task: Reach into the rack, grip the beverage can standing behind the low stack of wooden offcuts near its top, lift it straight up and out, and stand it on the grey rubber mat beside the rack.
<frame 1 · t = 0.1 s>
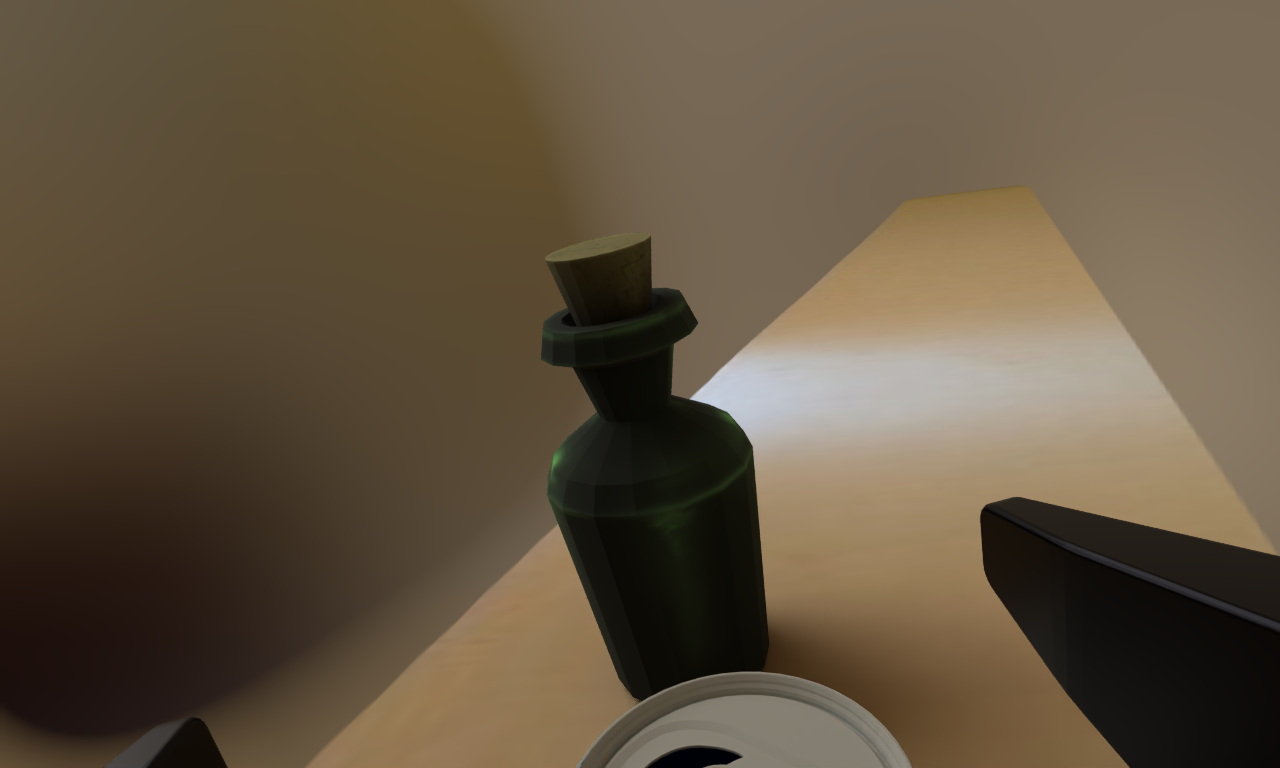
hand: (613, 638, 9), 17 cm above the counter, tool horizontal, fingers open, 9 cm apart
potion bottle: (694, 662, 33), on the counter
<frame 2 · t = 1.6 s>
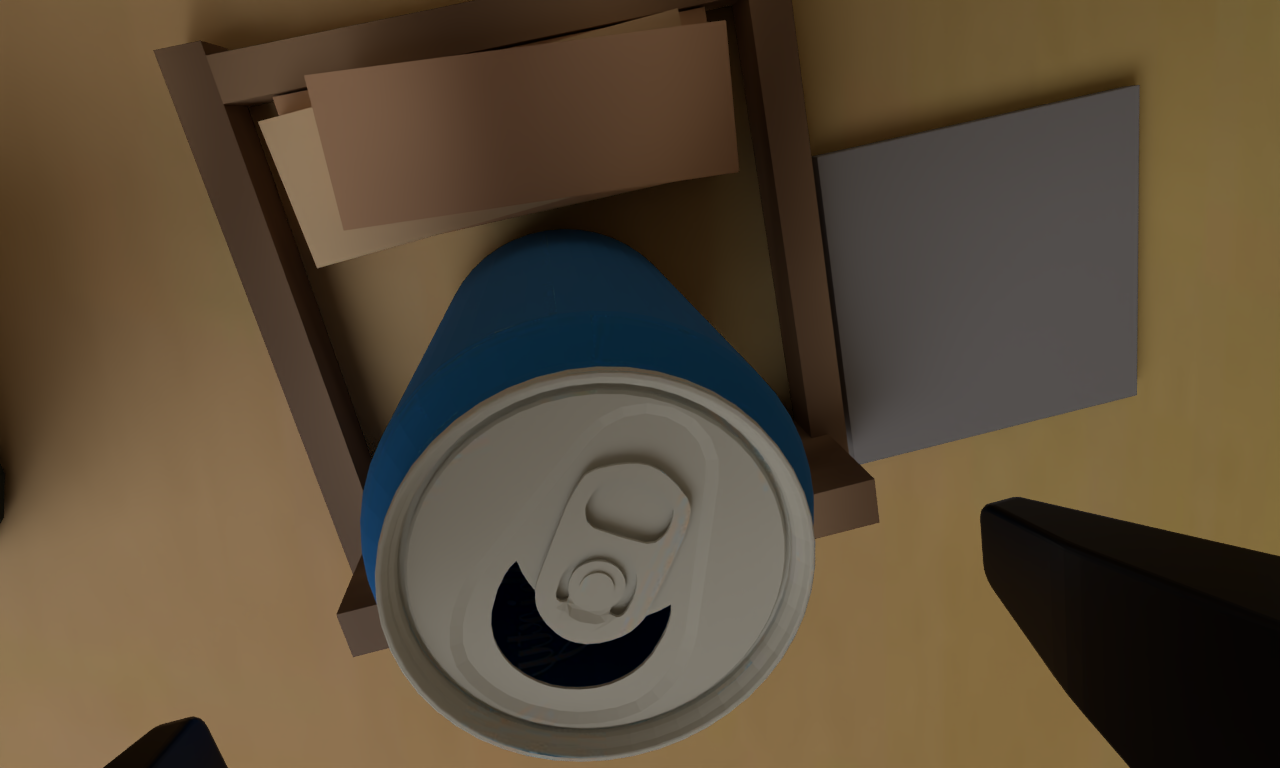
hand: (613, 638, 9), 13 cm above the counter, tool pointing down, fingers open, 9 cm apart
beverage can: (565, 343, 21), resting in rack
rack: (566, 345, 21), on the counter
offcut stack: (514, 135, 19), resting in rack
rubber mat: (980, 282, 22), on the counter
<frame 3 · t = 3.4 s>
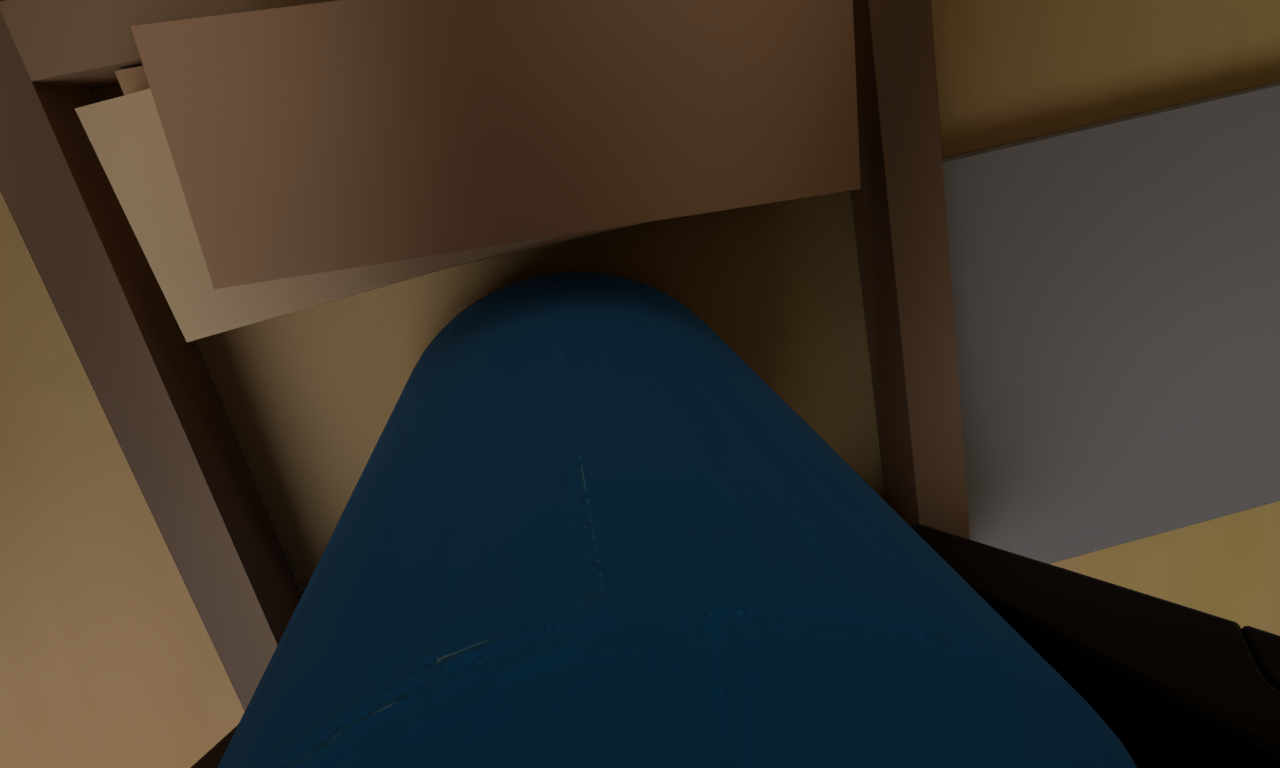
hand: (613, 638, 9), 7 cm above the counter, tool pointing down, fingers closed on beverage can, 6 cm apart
beverage can: (575, 428, 15), resting in rack, touching gripper
rack: (575, 431, 15), on the counter
offcut stack: (499, 132, 13), resting in rack
rubber mat: (1147, 335, 16), on the counter
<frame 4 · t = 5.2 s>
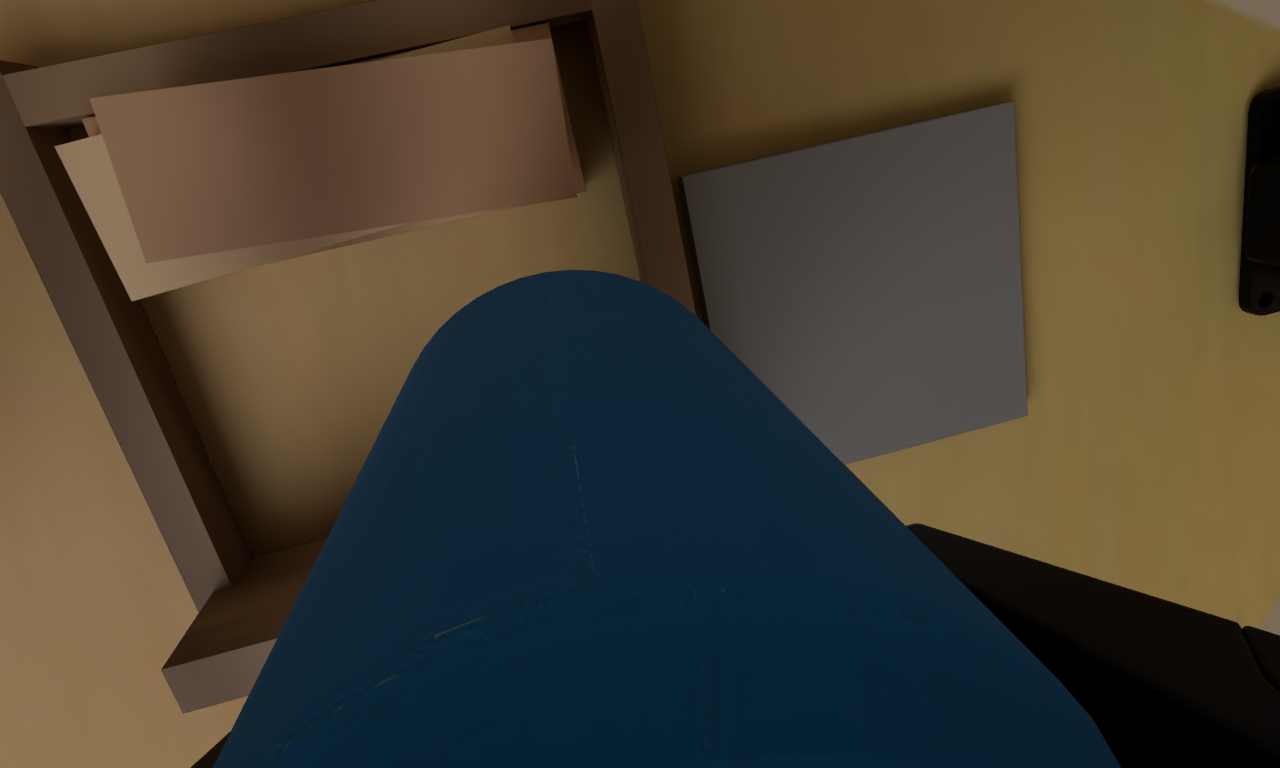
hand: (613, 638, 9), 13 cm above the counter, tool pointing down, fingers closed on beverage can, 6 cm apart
beverage can: (573, 424, 15), point 6 cm above the counter, touching gripper
rack: (428, 374, 20), on the counter
offcut stack: (360, 156, 18), resting in rack
rubber mat: (862, 303, 21), on the counter
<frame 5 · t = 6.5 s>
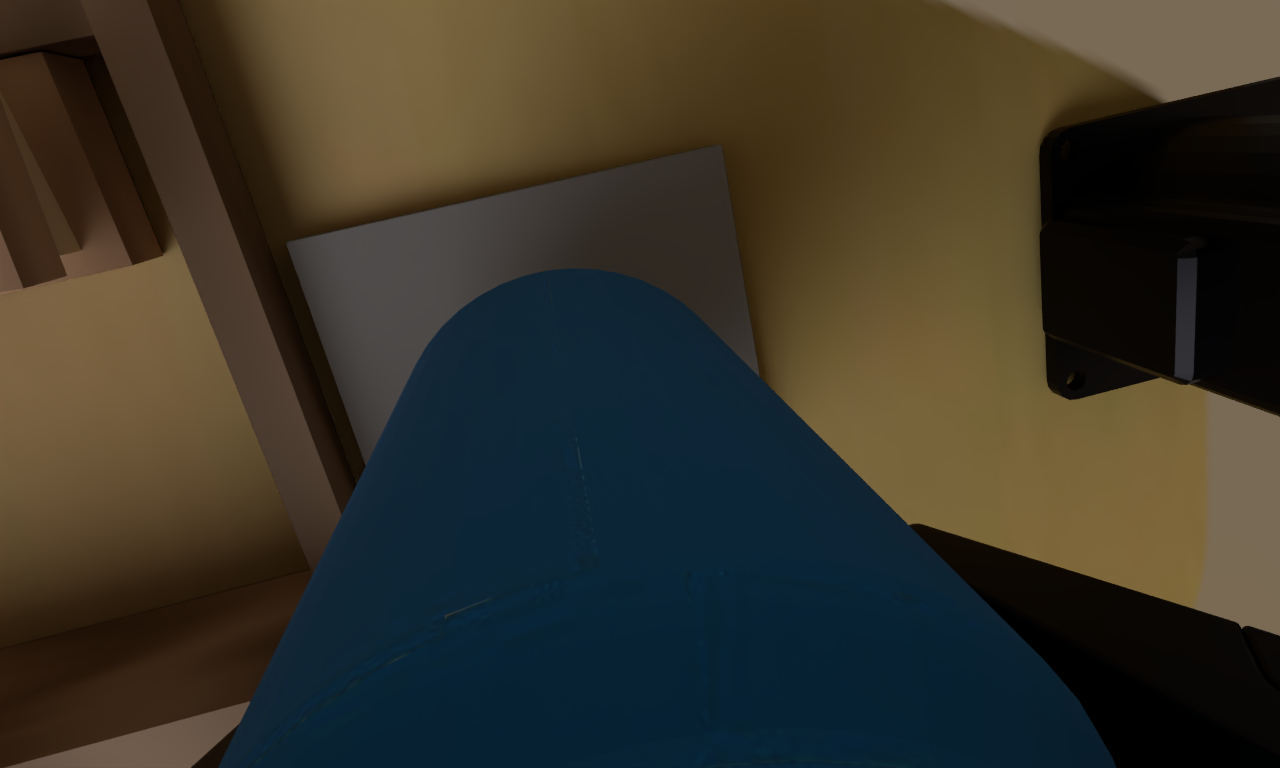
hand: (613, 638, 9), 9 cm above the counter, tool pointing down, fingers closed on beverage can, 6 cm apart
beverage can: (574, 421, 15), point 2 cm above the counter, touching gripper
rubber mat: (560, 389, 17), on the counter
when the fingers open (8 cm above the counter, at t = 7.5 s): beverage can stays where it is, resting on rubber mat.
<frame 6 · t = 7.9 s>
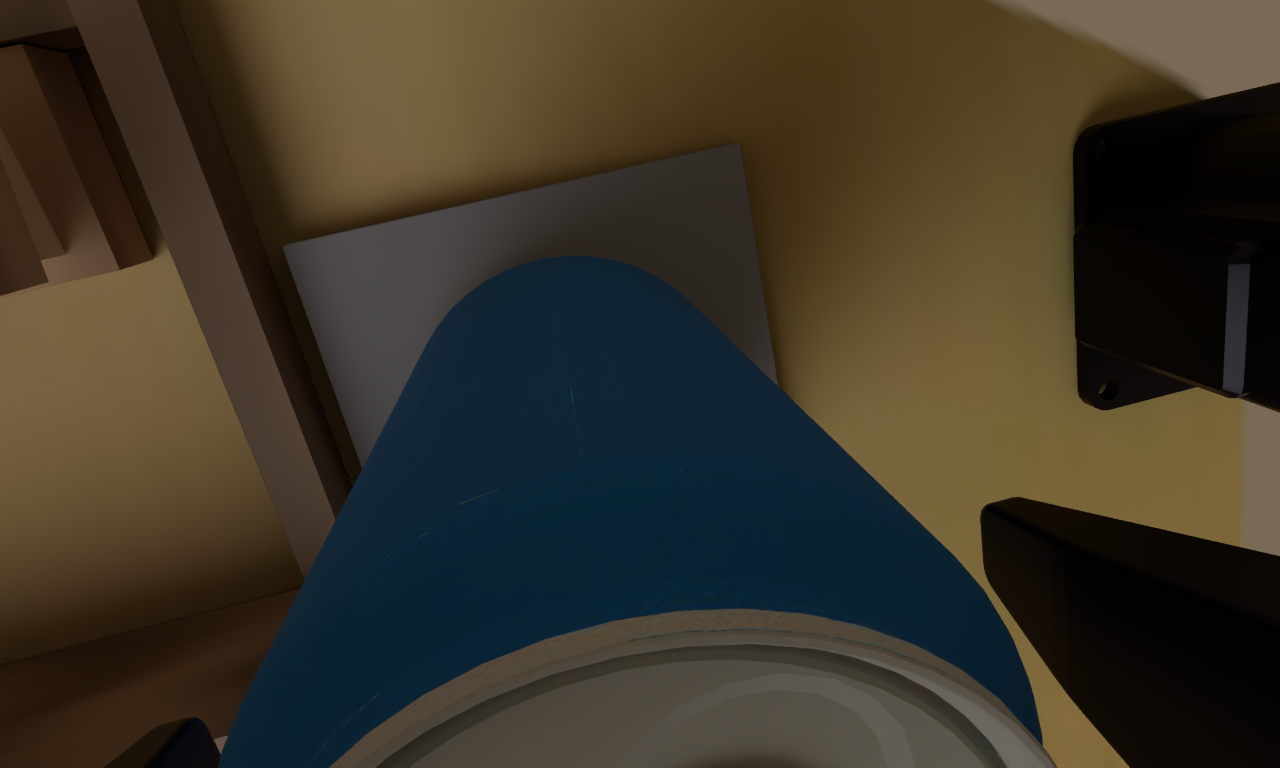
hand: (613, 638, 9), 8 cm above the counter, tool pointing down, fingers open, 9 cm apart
beverage can: (573, 401, 16), resting on rubber mat
rubber mat: (569, 399, 17), on the counter
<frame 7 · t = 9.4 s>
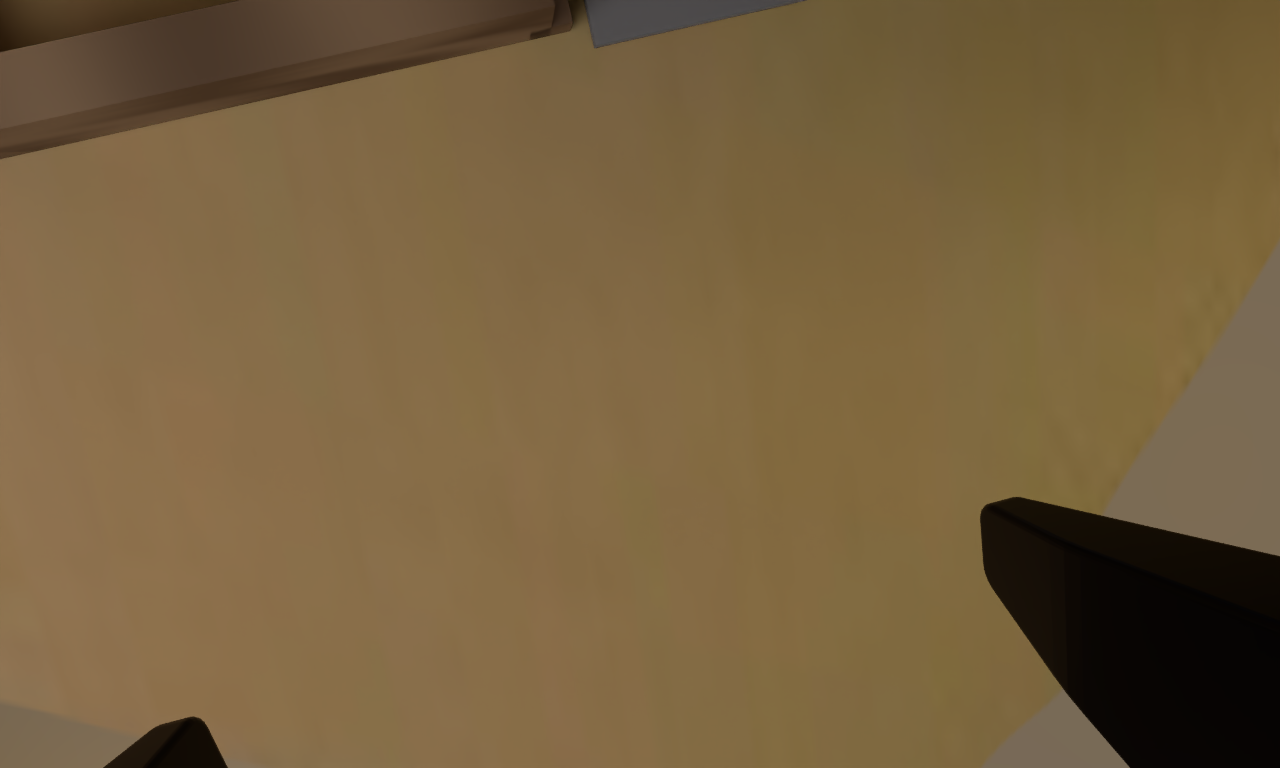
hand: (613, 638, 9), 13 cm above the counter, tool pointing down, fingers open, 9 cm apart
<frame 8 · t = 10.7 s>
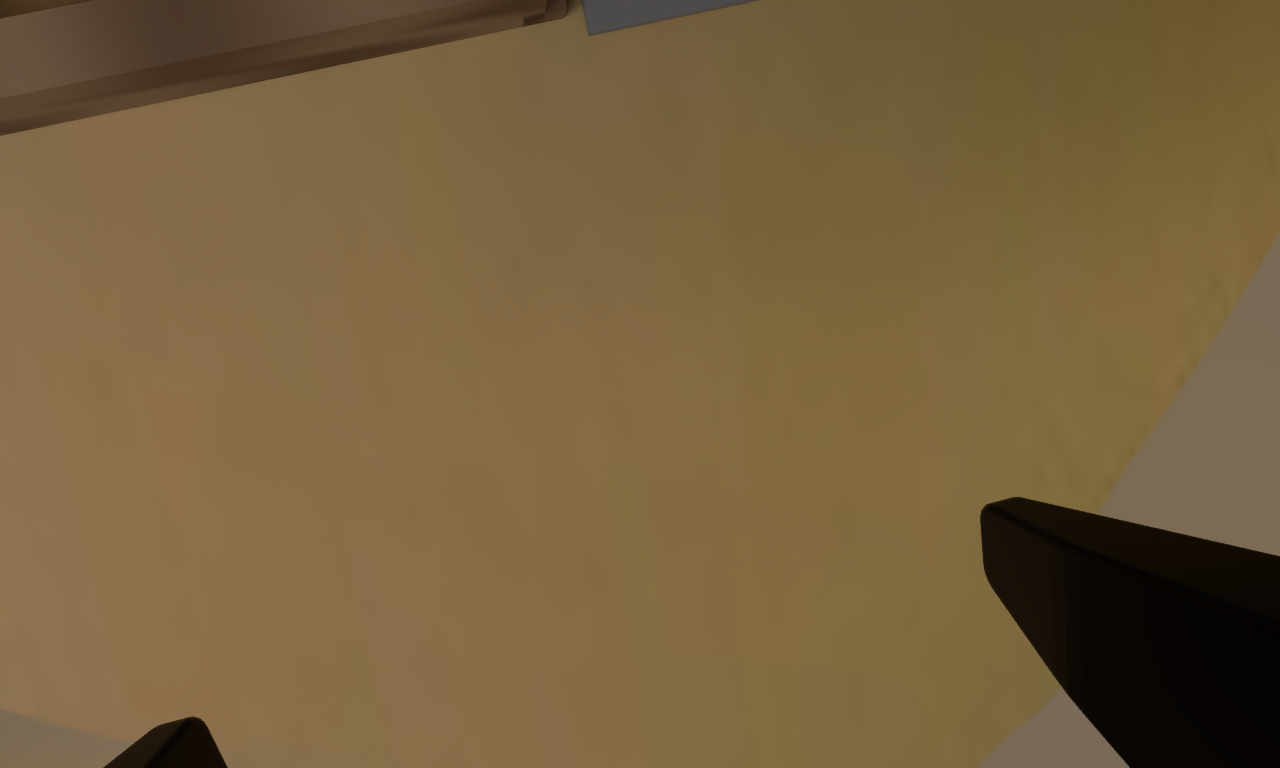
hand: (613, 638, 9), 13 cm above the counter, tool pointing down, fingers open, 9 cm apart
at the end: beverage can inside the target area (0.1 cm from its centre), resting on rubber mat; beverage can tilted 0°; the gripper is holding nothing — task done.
